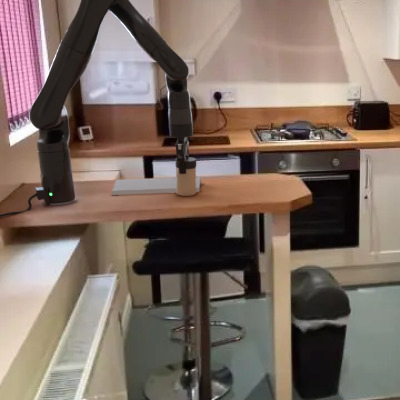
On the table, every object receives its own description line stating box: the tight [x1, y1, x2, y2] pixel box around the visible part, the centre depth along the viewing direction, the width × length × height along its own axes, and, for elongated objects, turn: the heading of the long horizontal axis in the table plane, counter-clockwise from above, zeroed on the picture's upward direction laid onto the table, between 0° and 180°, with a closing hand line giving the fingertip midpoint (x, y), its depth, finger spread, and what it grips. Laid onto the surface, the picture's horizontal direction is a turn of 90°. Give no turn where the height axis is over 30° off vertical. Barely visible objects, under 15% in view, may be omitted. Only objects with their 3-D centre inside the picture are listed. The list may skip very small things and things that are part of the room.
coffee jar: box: [175, 166, 197, 197], centre depth 200 cm, size 6×6×11 cm
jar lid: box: [175, 156, 197, 169], centre depth 199 cm, size 7×7×2 cm
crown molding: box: [111, 176, 203, 197], centre depth 208 cm, size 29×12×4 cm, turn 97°
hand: (184, 171), depth 199 cm, fingers closed on jar lid, 6 cm apart
